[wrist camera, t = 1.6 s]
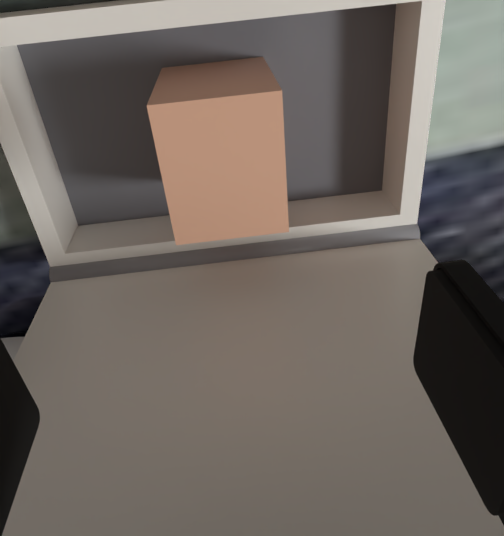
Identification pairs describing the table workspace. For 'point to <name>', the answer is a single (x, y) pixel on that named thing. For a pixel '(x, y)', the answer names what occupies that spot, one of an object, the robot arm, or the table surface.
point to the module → (221, 149)
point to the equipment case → (230, 282)
